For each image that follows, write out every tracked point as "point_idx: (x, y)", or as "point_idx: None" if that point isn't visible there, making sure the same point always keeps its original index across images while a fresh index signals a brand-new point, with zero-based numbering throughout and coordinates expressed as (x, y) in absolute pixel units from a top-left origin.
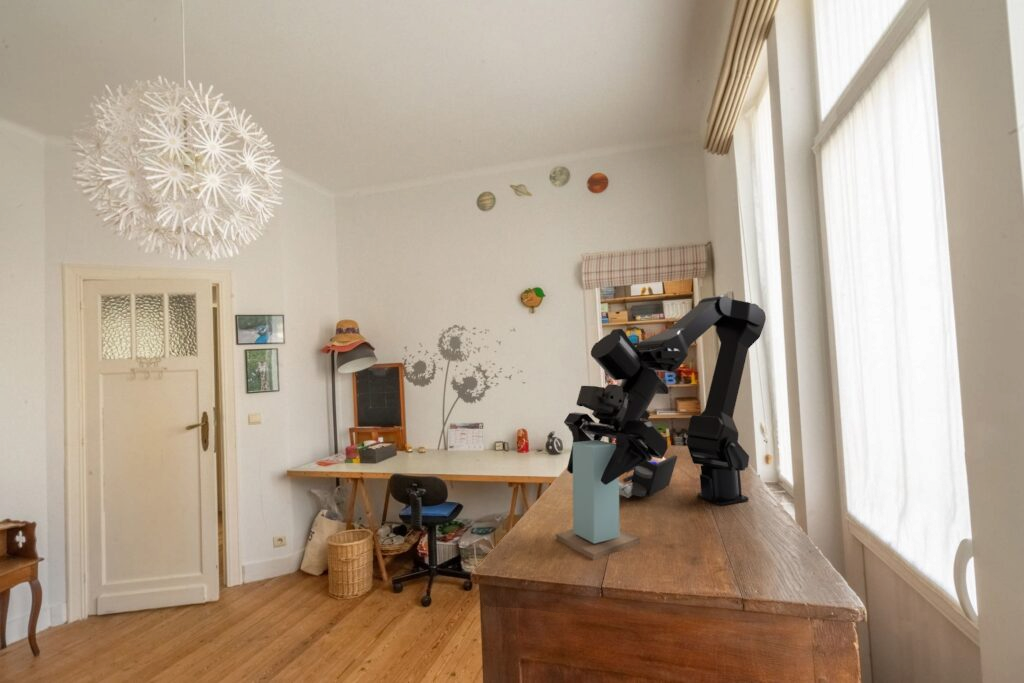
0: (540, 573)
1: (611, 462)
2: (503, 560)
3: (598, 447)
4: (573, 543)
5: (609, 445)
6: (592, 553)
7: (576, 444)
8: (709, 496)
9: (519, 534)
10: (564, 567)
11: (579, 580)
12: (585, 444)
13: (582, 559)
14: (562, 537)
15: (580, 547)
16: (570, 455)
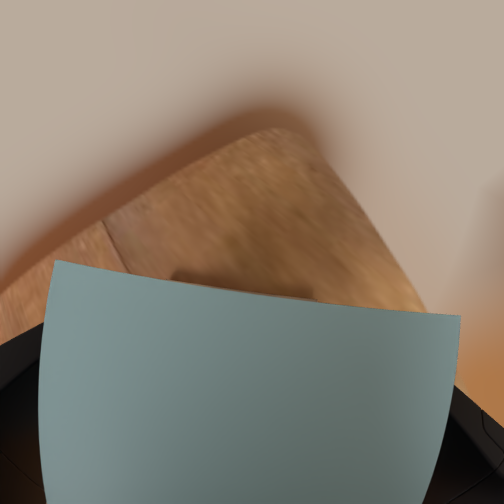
0: (212, 171)
1: (17, 347)
2: (305, 161)
3: (43, 339)
4: (242, 291)
5: (53, 502)
6: (169, 280)
7: (398, 315)
8: None
9: (389, 259)
10: (193, 215)
11: (139, 200)
12: (271, 357)
13: (188, 266)
14: (290, 297)
15: (213, 286)
16: (454, 387)
